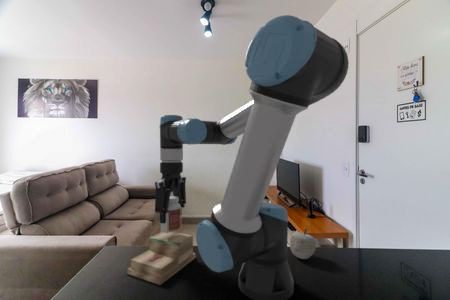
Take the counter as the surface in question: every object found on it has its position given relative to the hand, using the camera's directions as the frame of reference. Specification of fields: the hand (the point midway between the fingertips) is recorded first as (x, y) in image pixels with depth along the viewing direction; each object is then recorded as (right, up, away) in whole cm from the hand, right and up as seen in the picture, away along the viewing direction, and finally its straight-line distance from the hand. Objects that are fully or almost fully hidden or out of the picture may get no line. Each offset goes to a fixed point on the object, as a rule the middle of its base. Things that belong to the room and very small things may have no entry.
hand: (171, 228), depth 80 cm
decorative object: (+46, -11, +2) cm, 47 cm away
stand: (-2, -11, -3) cm, 11 cm away
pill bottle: (0, -1, 0) cm, 1 cm away
